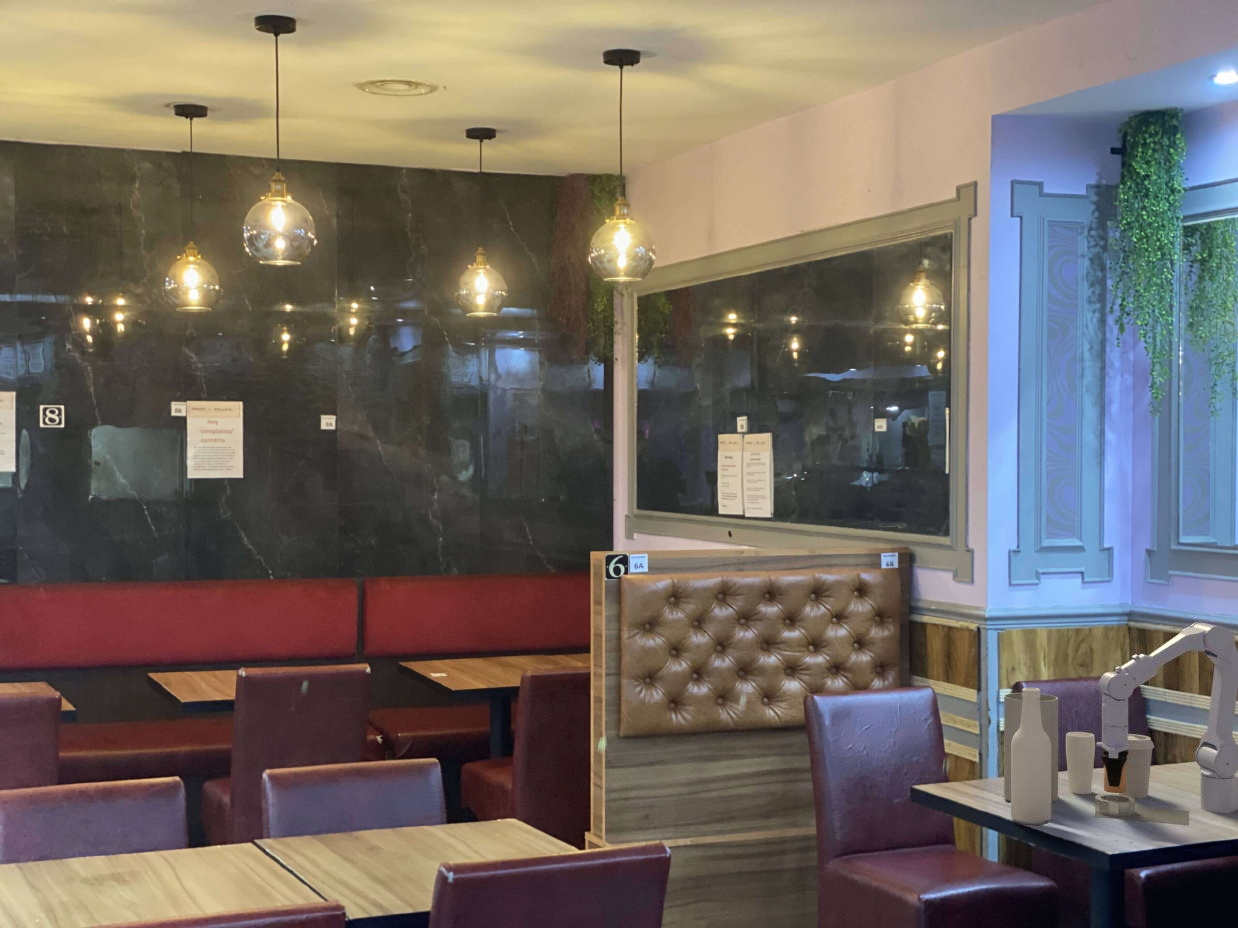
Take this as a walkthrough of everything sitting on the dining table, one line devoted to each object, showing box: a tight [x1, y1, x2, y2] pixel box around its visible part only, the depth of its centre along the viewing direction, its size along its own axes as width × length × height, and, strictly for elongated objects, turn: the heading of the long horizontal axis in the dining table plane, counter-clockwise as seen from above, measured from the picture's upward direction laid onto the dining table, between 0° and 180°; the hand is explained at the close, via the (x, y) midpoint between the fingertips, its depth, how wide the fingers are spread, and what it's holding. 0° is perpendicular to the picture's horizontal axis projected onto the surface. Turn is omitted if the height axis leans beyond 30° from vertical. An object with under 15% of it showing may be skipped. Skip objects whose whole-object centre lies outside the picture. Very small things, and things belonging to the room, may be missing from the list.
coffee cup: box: [1118, 733, 1155, 799], centre depth 348 cm, size 10×10×15 cm
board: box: [1093, 805, 1190, 826], centre depth 329 cm, size 20×14×1 cm
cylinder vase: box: [1003, 692, 1059, 803], centre depth 346 cm, size 12×12×25 cm
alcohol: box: [1010, 687, 1052, 826], centre depth 327 cm, size 9×9×30 cm
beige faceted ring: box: [1094, 793, 1136, 816], centre depth 331 cm, size 9×9×3 cm
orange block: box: [1103, 764, 1126, 794], centre depth 331 cm, size 5×5×6 cm
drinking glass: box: [1065, 731, 1096, 795], centre depth 351 cm, size 7×7×15 cm
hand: (1114, 783), depth 331 cm, fingers closed on orange block, 5 cm apart
